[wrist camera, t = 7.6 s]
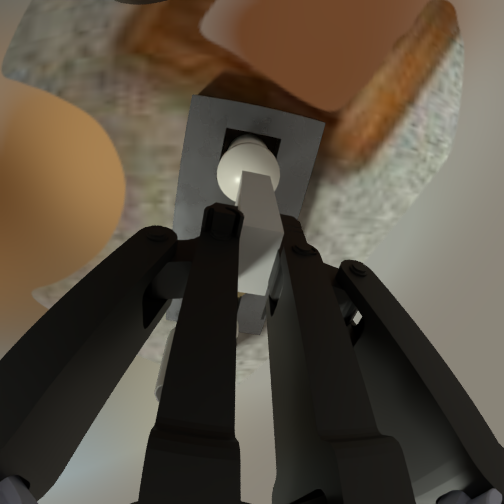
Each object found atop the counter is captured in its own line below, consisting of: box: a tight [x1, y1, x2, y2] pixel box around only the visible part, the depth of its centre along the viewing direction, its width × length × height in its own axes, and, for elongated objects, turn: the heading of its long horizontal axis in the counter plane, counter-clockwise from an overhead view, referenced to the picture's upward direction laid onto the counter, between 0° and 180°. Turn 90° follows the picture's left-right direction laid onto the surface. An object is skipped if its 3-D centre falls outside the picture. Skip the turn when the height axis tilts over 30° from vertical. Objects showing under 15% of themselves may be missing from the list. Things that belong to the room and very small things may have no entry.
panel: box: [166, 95, 325, 335], centre depth 31 cm, size 26×12×3 cm, turn 168°
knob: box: [217, 134, 280, 202], centre depth 25 cm, size 5×5×8 cm
